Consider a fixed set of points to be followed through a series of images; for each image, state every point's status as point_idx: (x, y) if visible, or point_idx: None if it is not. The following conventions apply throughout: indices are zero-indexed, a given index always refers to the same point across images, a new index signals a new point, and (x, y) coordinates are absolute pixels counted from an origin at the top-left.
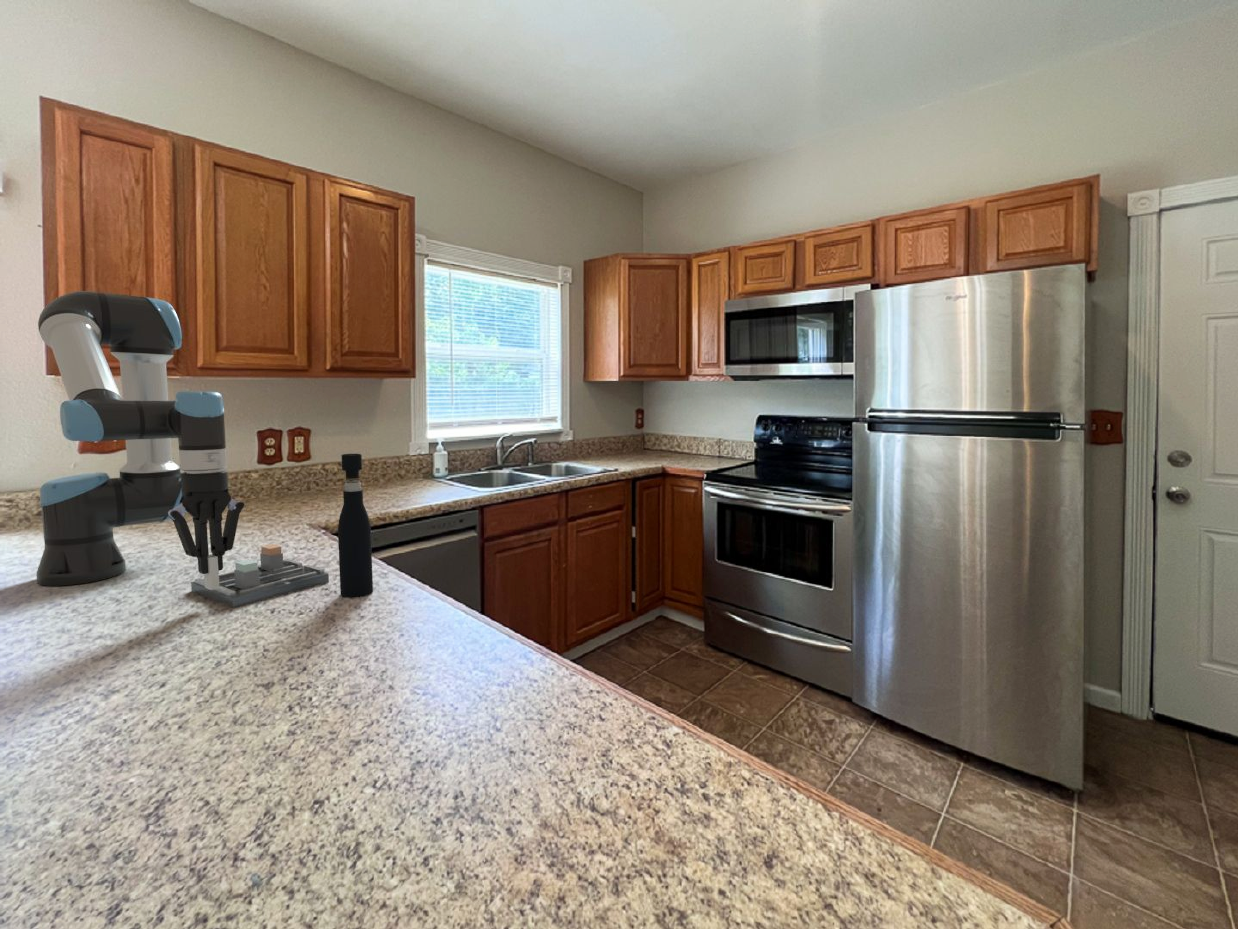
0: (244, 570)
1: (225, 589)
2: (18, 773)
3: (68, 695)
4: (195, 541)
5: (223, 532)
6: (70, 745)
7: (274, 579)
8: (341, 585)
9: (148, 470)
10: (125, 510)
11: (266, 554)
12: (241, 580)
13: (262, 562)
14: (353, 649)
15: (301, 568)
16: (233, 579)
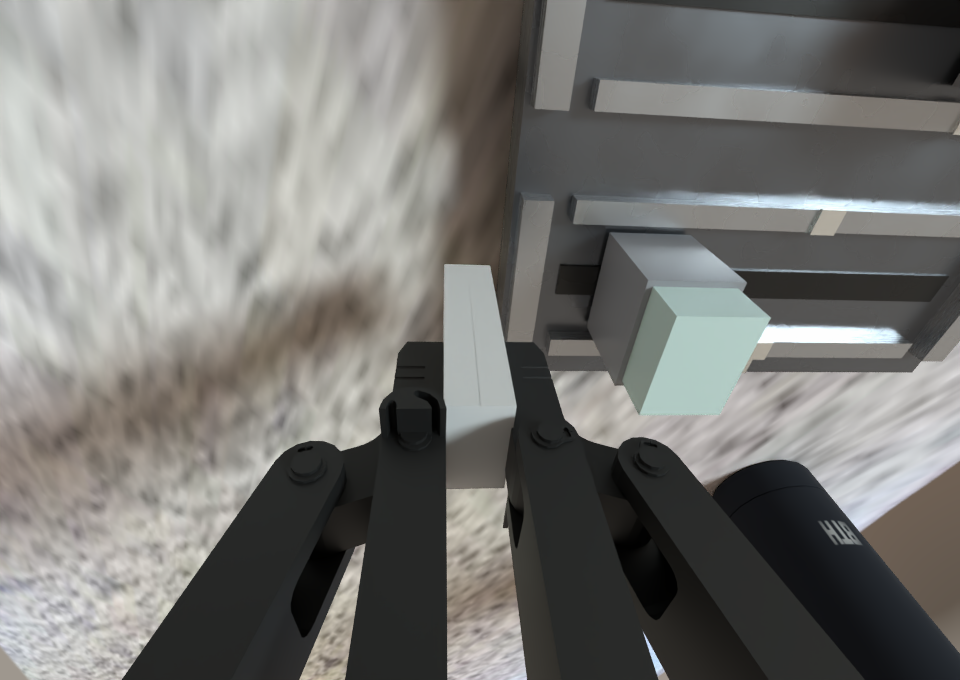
0: (627, 391)
1: (526, 293)
2: (27, 668)
3: (26, 559)
4: (361, 578)
5: (726, 630)
6: (76, 656)
7: (788, 262)
8: (737, 521)
9: None
10: None
11: None
12: (607, 327)
13: None
14: (480, 651)
15: None
16: (699, 102)
